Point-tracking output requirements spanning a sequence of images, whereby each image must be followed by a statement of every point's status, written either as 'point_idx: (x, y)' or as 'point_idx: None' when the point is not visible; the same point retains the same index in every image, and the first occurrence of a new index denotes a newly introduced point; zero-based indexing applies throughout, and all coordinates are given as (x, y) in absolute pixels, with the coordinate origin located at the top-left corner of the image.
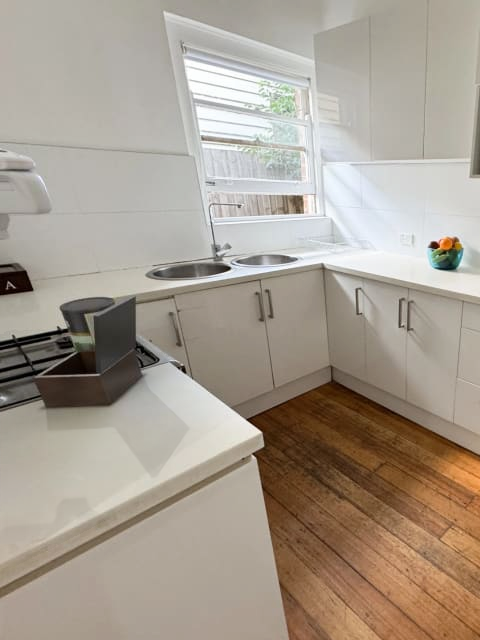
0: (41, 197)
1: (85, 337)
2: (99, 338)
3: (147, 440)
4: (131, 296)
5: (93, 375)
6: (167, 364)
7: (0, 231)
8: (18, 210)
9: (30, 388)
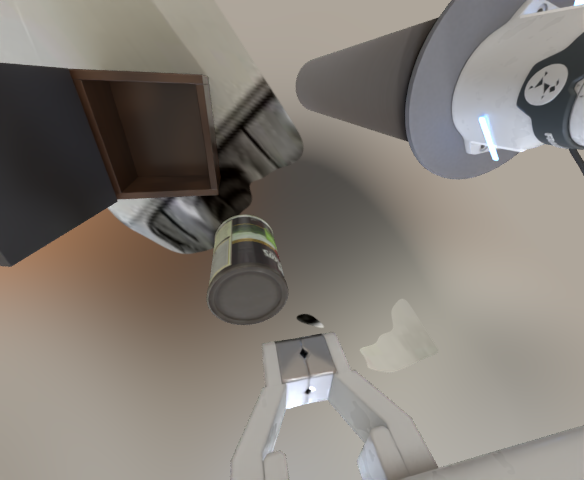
0: None
1: (240, 237)
2: None
3: None
4: (2, 260)
5: (81, 71)
6: (124, 216)
7: (265, 381)
8: None
9: (277, 146)
